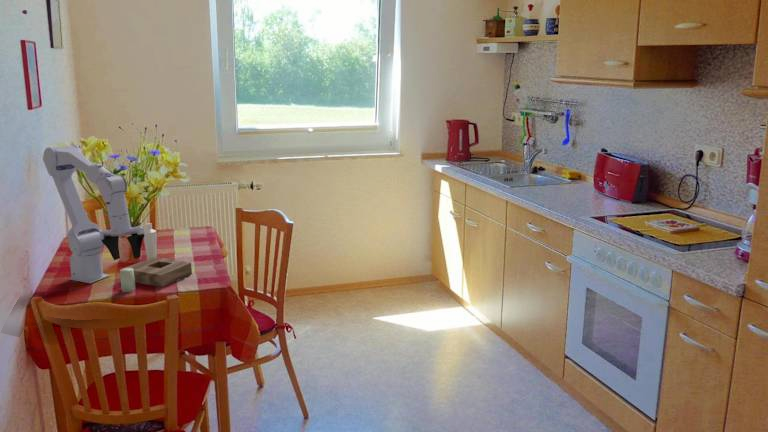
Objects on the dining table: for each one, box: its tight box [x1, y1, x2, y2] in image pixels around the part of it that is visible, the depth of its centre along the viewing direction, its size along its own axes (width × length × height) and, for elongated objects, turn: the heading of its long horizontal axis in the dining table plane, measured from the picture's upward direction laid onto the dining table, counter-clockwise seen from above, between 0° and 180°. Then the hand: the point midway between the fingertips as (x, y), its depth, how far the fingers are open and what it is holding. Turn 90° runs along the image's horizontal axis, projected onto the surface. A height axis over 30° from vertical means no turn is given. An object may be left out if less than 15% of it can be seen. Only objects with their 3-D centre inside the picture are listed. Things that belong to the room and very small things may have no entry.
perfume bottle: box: [143, 222, 158, 260], centre depth 221 cm, size 5×4×15 cm
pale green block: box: [119, 267, 136, 293], centre depth 198 cm, size 4×4×6 cm
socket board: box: [122, 256, 193, 288], centre depth 210 cm, size 16×14×4 cm
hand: (127, 258), depth 197 cm, fingers open, 7 cm apart
